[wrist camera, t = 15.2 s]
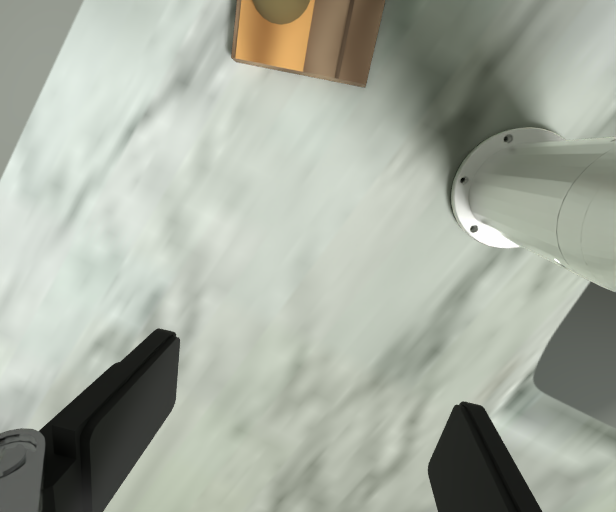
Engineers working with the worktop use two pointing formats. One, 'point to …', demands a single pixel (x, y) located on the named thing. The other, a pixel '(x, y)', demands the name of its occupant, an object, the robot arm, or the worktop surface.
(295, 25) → the board
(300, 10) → the cork
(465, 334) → the worktop surface
